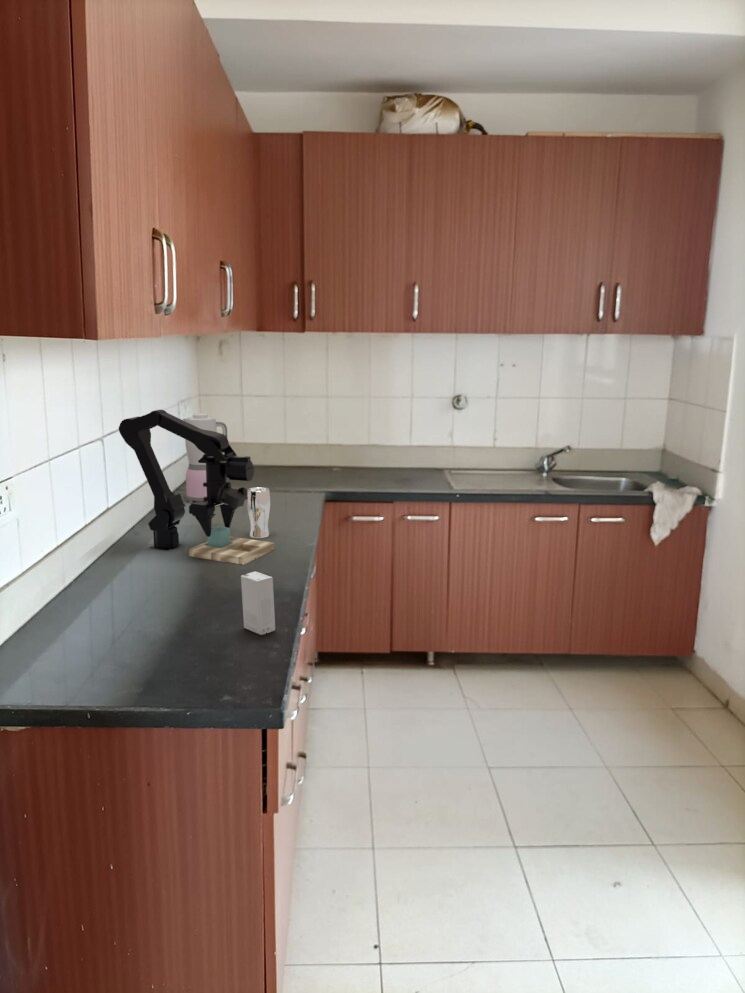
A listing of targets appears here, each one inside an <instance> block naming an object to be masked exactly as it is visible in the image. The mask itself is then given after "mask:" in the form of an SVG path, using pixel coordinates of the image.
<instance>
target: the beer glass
mask: <svg viewBox="0 0 745 993" xmlns="http://www.w3.org/2000/svg"><path fill="white" fill-rule="evenodd" d="M247 494H248V495H247V497H248V499H247V502H246V503H247V504H246V505H247V512H248V513H247V514H248V517H249V518H248V519H249V522H250V523H249V524H250V530H249V531H250V532H249V537H250V538H253V539H262V538H263V539H265V538H268V537H269V536H270V532H269V519H270V518H269V517H270V511H271V496H270V488H268V487H265V486H264V487H262V486H261V487H259V486H257V487H250V488H248V489H247Z"/></svg>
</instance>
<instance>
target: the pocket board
mask: <svg viewBox="0 0 745 993" xmlns="http://www.w3.org/2000/svg"><path fill="white" fill-rule="evenodd" d="M272 550H273V551H274V550H275V542H271V541H264V540H259V539H258V540H257V539H249V538H244V537H237V536H231V535H230V544H229V545H227V546H225V547H223V548H219V547H212V546H208V540H207V541H206V542H203V543H200V544H198V545H195V546H193V547H191V548H189V549H188V556H189V557H193V558H198V559H204V560H209V561H216V562H224V563H228V562H229V564H234V563H235V565H241V564H242V566H244V565H246V564H248V563H250V562H253V561H254V560H256V559H258V558H260V557H262V556H265V555H266V554H268V553H271V552H273V551H272ZM255 558H256V559H255Z"/></svg>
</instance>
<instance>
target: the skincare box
mask: <svg viewBox="0 0 745 993" xmlns="http://www.w3.org/2000/svg"><path fill="white" fill-rule="evenodd" d="M273 578H274V577H272V576H271V575H270V576H269V575H267V574H264V573H261V572H259V571H255V570H254V571H251V572H248V573H245V574H242V575H240V584H241V601H242V615H243V616H242V617H243V627H244V629H247V630H248V631H251V632H253V633H256V634H257V635H260V636H262V635H266V633H267V634H270V633H272V632H275V631H276V617H275V616H276V615H275V602H274V601H275V599H274V598H275V597H274V594H275V593H274V579H273Z"/></svg>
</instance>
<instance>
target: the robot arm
mask: <svg viewBox="0 0 745 993" xmlns="http://www.w3.org/2000/svg"><path fill="white" fill-rule="evenodd" d="M155 427H159V428H160V429H161V428H162V429H164V430H166V431H168V432H170V433H172V434H174V435H176V436H178V437H180V438H183V439H184V440H185V439H186V440H188V441H190V442H192V443H193V444H194V445H195V446H196V447H197V448H198V449H199V450H200V451H202V452H203V453H204V455H203V457H202V458H201V459H200V460H198V462H199V463H206V482H205V483H203V487H206V489H207V496H206V497H204V501H195V502H193V503H190V504H189V505H188V513H189V515H190V514H191V515H192V516H193V517H195V519H196V520H197V522H198V523H199V525H200V526H201V528H202V530H203V532H204V534H205V537H207V536H208V537H210V536H211V528H212V520H213V518H214V517H215V516H216V513H215V511H216V508H217V507H219V509H220V512H221V516H222V519H223V525H224V527H227V528H230V527H231V524H232V521H233V517H234V514H235V511H236V510H237V509H238V508H240V507H243V506H244V504H245V501H246V500H247V499H248V497H247V495H248V489H247V488H246V487H244V486H241V487H239V488H232V484H231V482H230V481H228V479H229V480H231V481H242V482H252V480H253V477H254V475H255V466H254V464H253V461H251V456H249V455H248V456H247V455H246V456H239V455H237V453H236V452H235V450H234V449H233V448H232V446H231V445H230V444H229V439H228V436H227V437H226V436H225V435H224V434H223V433H221V432H218V431H217V432H214V431H209V430H203V429H200V428H198V427H196V426H194V425H192V424H189V423H187V422H185V421H184V420H182V419H181V418H179V417H177V416H175V415H173V414H170V413H168V412H167V411H166V410H164V409H162V408H161V409H156V410H152V411H150V412H149V413H146V414H143V415H141V416H134V417H130V418H129V417H128V418H125V419H122V421H120V423H119V426H118V431H119V432H118V433H119V434H120V435H121V437H122V439H123V441H124V442H125V444H126V445H128V446H129V447H130V448H131V449H132V450H133V451H134V453H135V455H136V458H137V460H138V463H139V465H140V467H141V469H142V471H143V474H144V476H145V478H146V481H147V483H148V486H149V488H150V490H151V493H152V495H153V510H154V513H155V514H154V515H155V516H154V517H153V518H152V519H151V520H150V521H148V527H149V530H150V531H153V545H152V546H150V548H151V549H156V550H163V551H170V550H172V549H175V548H178V547H180V546H182V544H181V543H180V538H179V536H180V534H179V532H178V527H177V525H178V526H179V525H180V523H181V519H182V520H183V518H184V515H185V514H186V509H185V508H186V504H185V503H184V501H183V498H182V496H181V494H180V493H176V494H175V493H174V492H172V491H171V489H170V486H169V484H168V482H167V480H166V478H165V474H164V472H163V470H162V468H161V465H160V463H159V460H158V459H157V456H156V454H155V451H154V449H153V447H152V443H151V442H152V433H151V432H152V431H151V429H153V428H155ZM223 453H224V454H223ZM230 529H231V528H230Z"/></svg>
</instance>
